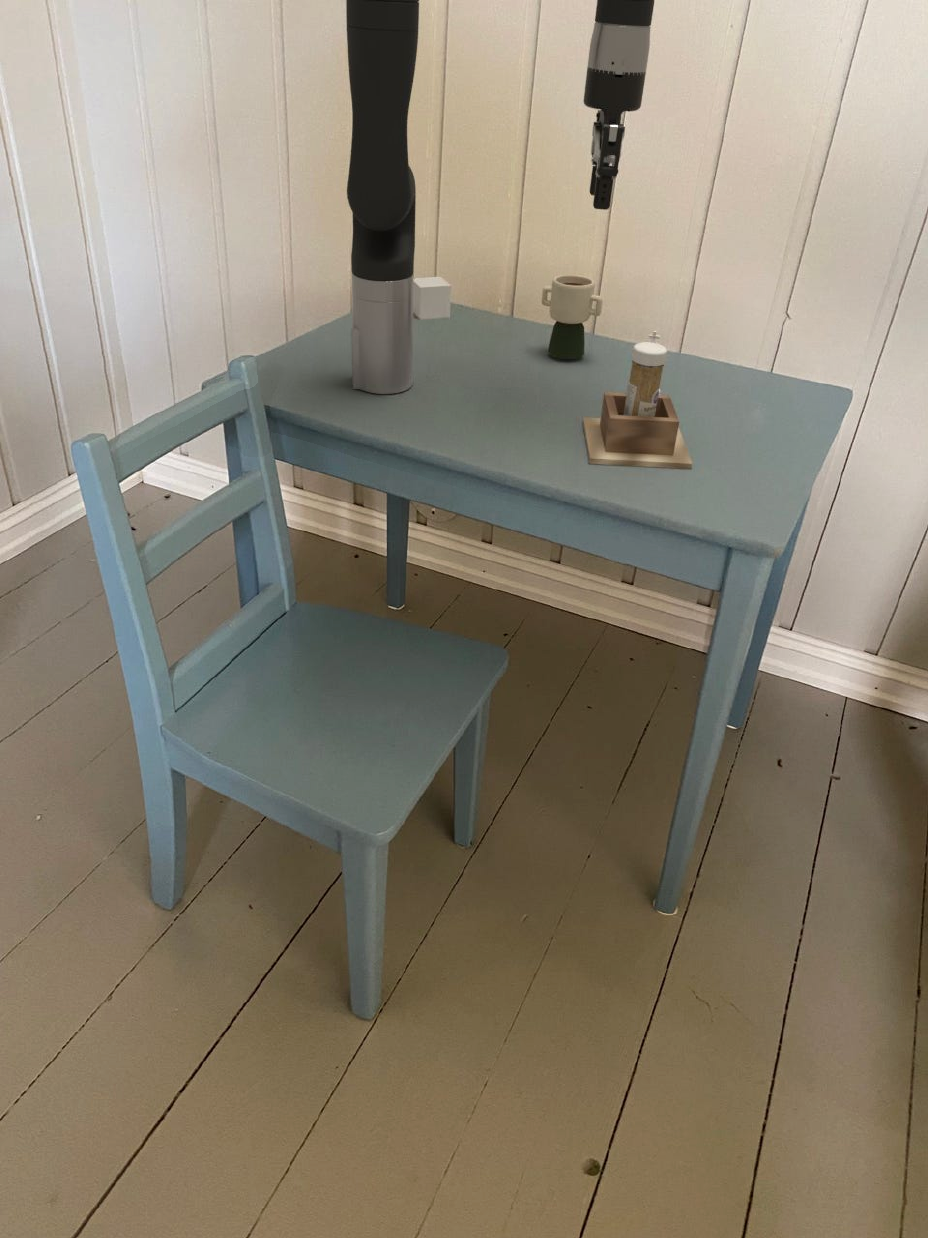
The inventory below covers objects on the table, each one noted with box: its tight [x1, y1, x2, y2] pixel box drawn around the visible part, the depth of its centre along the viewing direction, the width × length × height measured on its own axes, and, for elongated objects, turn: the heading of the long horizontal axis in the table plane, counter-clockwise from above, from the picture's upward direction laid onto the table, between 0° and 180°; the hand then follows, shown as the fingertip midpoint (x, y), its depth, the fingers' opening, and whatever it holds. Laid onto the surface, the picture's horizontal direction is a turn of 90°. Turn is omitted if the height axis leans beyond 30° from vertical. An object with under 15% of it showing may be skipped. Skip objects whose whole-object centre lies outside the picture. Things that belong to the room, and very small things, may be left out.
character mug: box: [541, 274, 603, 360], centre depth 158 cm, size 11×7×13 cm, turn 61°
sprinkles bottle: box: [623, 341, 668, 417], centre depth 129 cm, size 5×5×13 cm
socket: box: [582, 391, 693, 470], centre depth 131 cm, size 14×14×6 cm
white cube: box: [413, 276, 452, 320], centre depth 176 cm, size 6×6×6 cm
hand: (598, 201), depth 128 cm, fingers open, 8 cm apart
